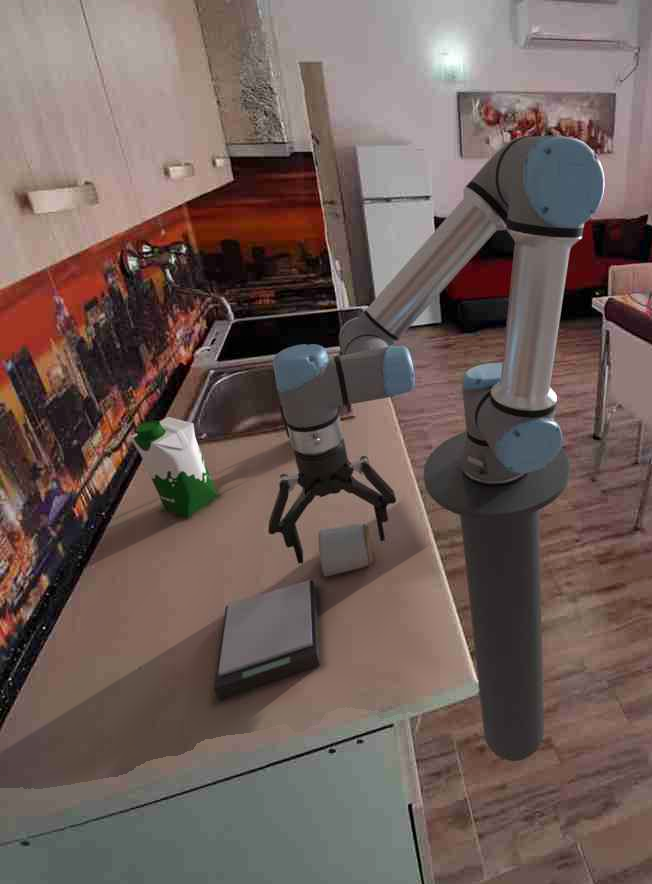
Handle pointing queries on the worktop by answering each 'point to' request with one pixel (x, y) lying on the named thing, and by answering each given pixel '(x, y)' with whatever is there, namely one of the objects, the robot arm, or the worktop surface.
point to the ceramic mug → (344, 548)
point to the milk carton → (175, 464)
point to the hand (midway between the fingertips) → (342, 546)
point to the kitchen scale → (268, 639)
